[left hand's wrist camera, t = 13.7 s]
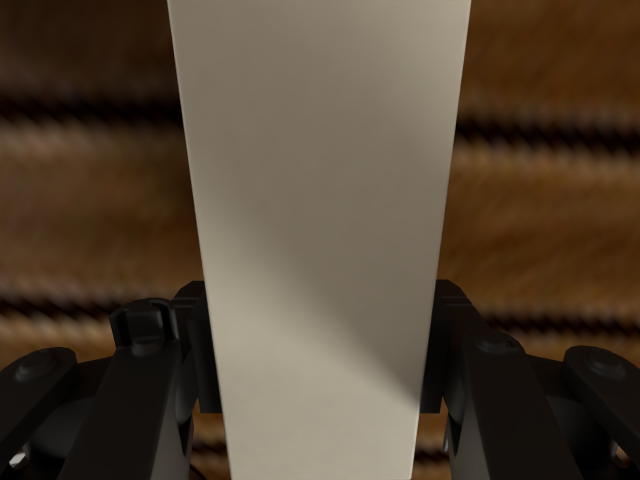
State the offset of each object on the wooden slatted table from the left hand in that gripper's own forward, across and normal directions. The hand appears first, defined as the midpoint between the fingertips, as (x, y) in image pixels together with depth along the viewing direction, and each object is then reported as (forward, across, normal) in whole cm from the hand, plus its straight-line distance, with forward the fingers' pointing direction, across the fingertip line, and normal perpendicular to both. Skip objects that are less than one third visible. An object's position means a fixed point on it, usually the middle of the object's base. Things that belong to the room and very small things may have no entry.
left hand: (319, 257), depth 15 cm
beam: (0, 0, +12) cm, 12 cm away
